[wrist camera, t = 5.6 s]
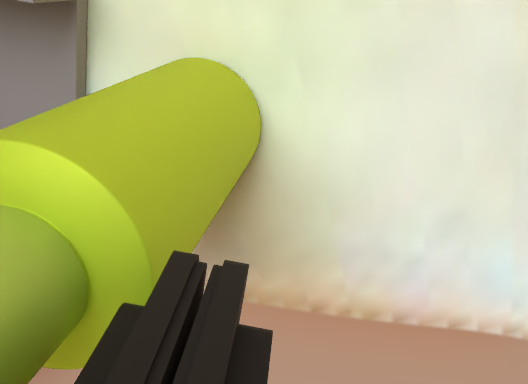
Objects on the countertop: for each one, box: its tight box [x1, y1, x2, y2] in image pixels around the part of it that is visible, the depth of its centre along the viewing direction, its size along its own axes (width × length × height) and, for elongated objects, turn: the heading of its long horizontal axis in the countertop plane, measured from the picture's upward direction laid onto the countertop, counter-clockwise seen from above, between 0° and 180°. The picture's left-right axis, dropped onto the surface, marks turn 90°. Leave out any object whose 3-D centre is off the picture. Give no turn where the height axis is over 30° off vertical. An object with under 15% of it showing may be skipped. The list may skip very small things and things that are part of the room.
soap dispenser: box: [0, 58, 261, 384], centre depth 14 cm, size 6×7×20 cm
